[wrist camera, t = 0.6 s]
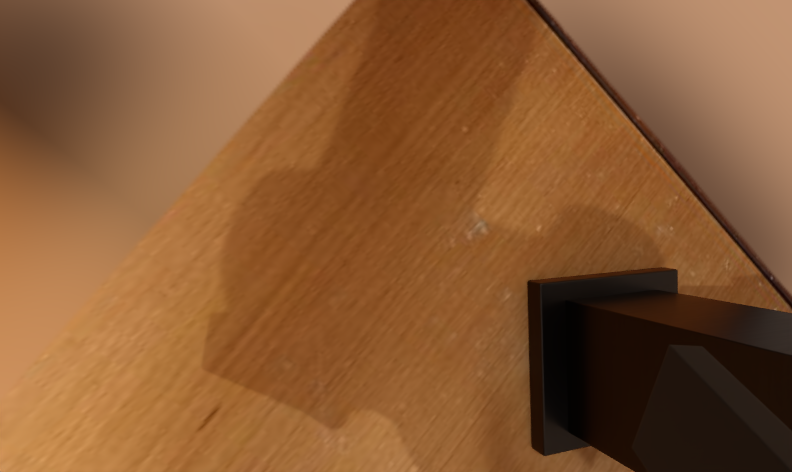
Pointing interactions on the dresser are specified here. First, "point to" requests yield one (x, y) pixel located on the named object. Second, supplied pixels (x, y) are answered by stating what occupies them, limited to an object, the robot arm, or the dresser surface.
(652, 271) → the pedestal stand
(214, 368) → the dresser surface
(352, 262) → the dresser surface
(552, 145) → the dresser surface
